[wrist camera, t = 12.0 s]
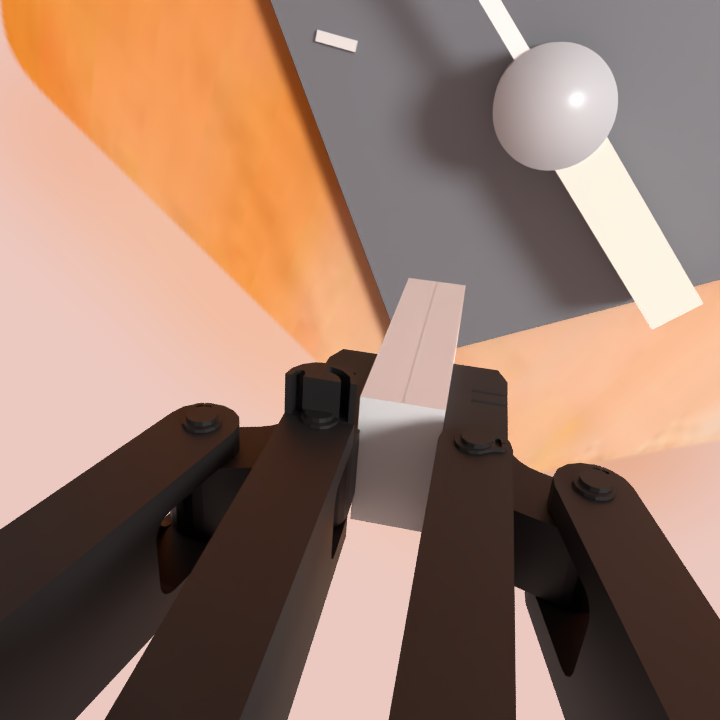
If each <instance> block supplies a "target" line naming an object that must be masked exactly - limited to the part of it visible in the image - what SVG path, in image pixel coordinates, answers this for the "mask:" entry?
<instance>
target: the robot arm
mask: <svg viewBox="0 0 720 720" xmlns="http://www.w3.org/2000/svg"><path fill="white" fill-rule="evenodd" d="M465 287H466V285H459V284H451V283H444V282H436V281H428V280H421V279H413V278H409V279H408V281H407V283H406V286H405V288H404V291H403V293H402V296H401V298H400V301H399V303H398V306H397V308H396V310H395V313H394V315H393V318H392V320H391V323H390V325H389V328H388V330H387V332H386V335H385V337H384V340H383V342H382V345H381V347H380V350H379V352H378V354H373V353H366V352H359V351H353V350H346V349H343V350H341V351H339V352H338V353H336V354H334V355H332V356H331V357H329V359H328V361H327V362H326V363H317V362H315V363H308V364H302V365H299V366H296V367H293V368H292V369H290V371H288V372H287V373H286V374H285V413H284V415H283V417H282V418H281V420H280V422H279V424H276V425H272V426H263V427H239V417H238V415H237V414H236V413H235V412H234V411H233V410H231V409H229V408H227V407H225V406H222V405H217V404H212V403H206V404H204V403H197V404H194V405H189V406H185V407H182V408H180V409H178V410H176V411H174V412H172V413H170V414H169V415H167V416H166V417H164V418H163V419H162V420H160V421H159V422H157V423H156V424H154V425H153V426H151V427H150V428H148V429H147V430H145V431H144V432H143V433H141V434H140V435H138V436H137V437H135V438H134V439H132V440H131V441H129V442H128V443H126V444H125V445H123V446H122V447H121V448H119V449H118V450H116V451H115V452H113V453H112V454H110V455H109V456H107V457H106V458H104V459H103V460H101V461H100V462H99V463H97V464H96V465H94V466H93V467H91V468H90V469H88V470H87V471H85V472H84V473H82V474H81V475H79V476H78V477H77V478H75V479H74V480H72V481H71V482H69V483H68V484H66V485H65V486H63V487H62V488H60V489H59V490H57V491H56V492H55V493H53V494H52V495H50V496H49V497H47V498H46V499H44V500H43V501H41V502H40V503H39V504H37V505H36V506H34V507H33V508H31V509H30V510H28V511H27V512H26V513H24V514H22V515H21V516H20V517H18V518H16V519H15V520H14V521H12V522H11V523H9V524H8V525H6V526H5V527H3V528H2V529H0V720H75V719H76V718H77V717H78V716H79V715H80V714H81V713H82V712H83V711H84V709H85V708H86V707H87V706H88V705H89V704H90V703H91V702H92V701H93V700H94V699H95V697H97V696H98V694H99V693H100V692H101V691H102V690H103V689H104V688H105V687H106V686H107V685H108V684H109V682H110V681H111V680H112V679H113V678H114V677H115V676H116V675H117V674H118V673H119V672H120V671H121V670H122V669H123V668H124V667H125V666H126V665H127V663H128V662H129V661H130V660H131V659H132V658H133V657H134V656H135V655H136V654H137V653H138V652H139V651H140V649H141V648H142V647H143V646H144V645H145V644H146V643H147V642H148V641H149V640H150V639H151V638H152V637H153V636H154V637H153V638H152V640H151V642H150V643H149V645H148V647H147V648H146V650H145V652H144V654H143V655H142V657H141V659H140V660H139V662H138V664H137V665H136V667H135V669H134V671H133V672H132V674H131V676H130V677H129V679H128V681H127V682H126V684H125V686H124V688H123V689H122V691H121V693H120V694H119V696H118V698H117V700H116V701H115V703H114V705H113V706H112V708H111V710H110V711H109V713H108V715H107V716H106V718H105V720H287V719H288V716H289V713H290V709H291V707H292V704H293V700H294V697H295V694H296V691H297V688H298V685H299V682H300V678H301V675H302V672H303V669H304V666H305V663H306V660H307V656H308V653H309V650H310V647H311V644H312V641H313V637H314V634H315V631H316V628H317V625H318V622H319V619H320V615H321V612H322V609H323V606H324V603H325V600H326V597H327V594H328V590H329V587H330V584H331V581H332V578H333V575H334V572H335V568H336V565H337V562H338V559H339V556H340V553H341V550H342V546H343V543H344V540H345V537H346V526H347V515H348V512H349V508H350V506H351V503H352V507H351V519H355V520H361V521H366V522H371V523H377V524H382V525H387V526H393V527H398V528H404V529H409V530H414V531H420V532H422V533H421V539H420V544H419V550H418V556H417V561H416V567H415V573H414V579H413V585H412V590H411V596H410V602H409V607H408V613H407V618H406V624H405V630H404V636H403V641H402V647H401V652H400V659H399V664H398V670H397V676H396V681H395V687H394V692H393V698H392V704H391V710H390V716H389V720H516V689H515V688H516V686H515V685H516V684H515V607H514V606H515V604H514V603H515V601H514V600H515V598H514V597H515V596H514V586H515V587H518V588H520V589H522V590H524V591H525V601H526V606H527V609H528V611H529V614H530V618H531V620H532V623H533V626H534V630H535V632H536V635H537V638H538V641H539V644H540V647H541V650H542V653H543V656H544V659H545V662H546V665H547V668H548V670H549V674H550V677H551V680H552V682H553V686H554V688H555V691H556V694H557V697H558V700H559V703H560V706H561V709H562V712H563V715H564V718H565V720H720V619H719V617H718V616H717V614H716V613H715V611H714V610H713V608H712V607H711V605H710V604H709V602H708V601H707V599H706V598H705V596H704V595H703V593H702V592H701V590H700V588H699V587H698V586H697V584H696V582H695V581H694V579H693V578H692V576H691V575H690V573H689V572H688V570H687V569H686V567H685V566H684V565H683V563H682V561H681V560H680V558H679V557H678V555H677V554H676V552H675V550H674V549H673V547H672V546H671V544H670V543H669V541H668V540H667V538H666V537H665V535H664V534H663V532H662V531H661V529H660V528H659V526H658V525H657V523H656V522H655V520H654V518H653V517H652V515H651V514H650V512H649V511H648V509H647V508H646V507H645V505H644V503H643V502H642V500H641V499H640V497H639V496H638V494H637V493H636V491H635V490H634V488H633V487H632V486H631V485H630V484H629V483H628V482H627V481H626V480H625V479H624V478H623V477H621V476H619V475H618V474H616V473H614V472H613V471H611V470H608V469H606V468H604V467H603V468H602V467H601V466H597V465H591V464H584V463H576V464H567V465H565V466H563V467H561V468H559V469H557V471H556V473H555V474H554V476H553V477H551V476H548V475H546V474H543V473H540V472H538V471H536V470H533V469H531V468H529V467H527V466H526V465H524V464H523V463H521V462H520V461H519V460H518V459H517V458H515V457H514V456H513V449H512V447H511V444H510V442H509V441H508V416H507V381H506V380H505V379H504V378H503V376H502V375H501V374H500V373H499V371H498V370H491V369H484V368H478V367H471V366H464V365H458V364H454V361H455V354H456V348H457V341H458V334H459V328H460V321H461V314H462V307H463V301H464V294H465ZM169 512H170V514H168V513H169ZM167 514H168V515H167ZM166 515H167V516H166Z"/></svg>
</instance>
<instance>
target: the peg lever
mask: <svg viewBox="0 0 720 720" xmlns="http://www.w3.org/2000/svg"><path fill="white" fill-rule="evenodd" d="M479 2H480V3H481V5H482V7H483V8H484V10H485V12H486V13H487V15H488V17H489V18H490V20H491V22H492V24H493V25H494V27H495V29H496V30H497V32H498V34H499V35H500V37H501V39H502V40H503V42H504V44H505V45H506V47H507V49H508V50H509V52H510V54H511V55H512V57H513V59H514V60H513V61H512V62H511V63H510V64H509V65H508V67H507V68H506V69H505V71H504V73H503V74H502V76H501V78H500V80H499V83H498V85H497V88H496V92H495V97H494V102H493V124H494V128H495V132H496V135H497V137H498V140H499V141H500V143H501V145H502V146H503V148H504V149H505V151H506V152H507V153H508V154H509V155H510V156H511V157H512V158H514V159H515V160H516V161H518V162H519V163H521V164H523V165H525V166H527V167H530V168H533V169H537V170H545V171H549V170H555V171H556V173H557V174H558V176H559V178H560V179H561V181H562V182H563V184H564V186H565V187H566V189H567V191H568V192H569V194H570V196H571V197H572V199H573V201H574V202H575V204H576V206H577V207H578V209H579V210H580V212H581V214H582V215H583V217H584V219H585V220H586V222H587V224H588V225H589V227H590V229H591V230H592V232H593V234H594V235H595V237H596V238H597V240H598V242H599V243H600V245H601V247H602V248H603V250H604V252H605V253H606V255H607V257H608V258H609V260H610V262H611V263H612V265H613V266H614V268H615V270H616V271H617V273H618V275H619V276H620V278H621V280H622V281H623V283H624V285H625V286H626V288H627V290H628V291H629V293H630V294H631V296H632V298H633V299H634V301H635V303H636V304H637V306H638V308H639V309H640V311H641V313H642V314H643V316H644V318H645V319H646V321H647V322H648V324H649V326H650V327H651V329H652V330H653V329H654V328H656V327H658V326H660V325H662V324H664V323H666V322H668V321H670V320H672V319H674V318H676V317H678V316H680V315H682V314H684V313H686V312H688V311H690V310H692V309H694V308H696V307H698V306H700V305H702V304H703V302H702V301H701V299H700V297H699V295H698V294H697V292H696V290H695V288H694V287H693V285H692V283H691V281H690V280H689V278H688V276H687V275H686V273H685V271H684V269H683V268H682V266H681V264H680V262H679V261H678V259H677V257H676V255H675V254H674V252H673V250H672V248H671V247H670V245H669V243H668V242H667V240H666V238H665V236H664V235H663V233H662V231H661V229H660V228H659V226H658V224H657V222H656V221H655V219H654V217H653V216H652V214H651V212H650V210H649V209H648V207H647V205H646V203H645V202H644V200H643V198H642V196H641V195H640V193H639V191H638V190H637V188H636V186H635V184H634V183H633V181H632V179H631V177H630V176H629V174H628V172H627V170H626V169H625V167H624V165H623V163H622V162H621V160H620V158H619V157H618V155H617V153H616V151H615V150H614V148H613V146H612V144H611V143H610V141H609V139H608V137H607V136H608V134H609V132H610V131H611V129H612V126H613V124H614V121H615V118H616V114H617V108H618V91H617V85H616V82H615V78H614V76H613V74H612V72H611V70H610V68H609V67H608V65H607V64H606V62H605V61H604V60H603V59H602V58H601V57H600V56H599V55H598V54H597V53H595V52H594V51H592V50H591V49H589V48H587V47H585V46H582V45H580V44H576V43H571V42H549V43H543V44H539V45H536V46H534V47H532V48H529V47H528V45H527V44H526V42H525V40H524V39H523V37H522V35H521V34H520V32H519V30H518V28H517V27H516V25H515V23H514V22H513V20H512V18H511V16H510V15H509V13H508V11H507V10H506V8H505V6H504V5H503V3H502V1H501V0H479Z"/></svg>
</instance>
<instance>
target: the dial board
mask: <svg viewBox="0 0 720 720" xmlns="http://www.w3.org/2000/svg"><path fill="white" fill-rule="evenodd" d="M501 1H502V3H503V5H504V6H505V8H506V10H507V11H508V13H509V15H510V16H511V18H512V20H513V22H514V23H515V25H516V27H517V28H518V30H519V32H520V34H521V35H522V37H523V39H524V40H525V42H526V44H527V45H528V47H529V48H532V47H534V46H536V45H539V44H543V43H549V42H571V43H576V44H580V45H582V46H585V47H587V48H589V49H591V50H592V51H594V52H595V53H597V54H598V55H599V56H600V57H601V58H602V59H603V60H604V61H605V62H606V64H607V65H608V67H609V68H610V70H611V72H612V74H613V76H614V78H615V82H616V85H617V91H618V108H617V114H616V118H615V121H614V124H613V126H612V129H611V131H610V132H609V134H608V136H607V137H608V139H609V141H610V143H611V144H612V146H613V148H614V150H615V151H616V153H617V155H618V157H619V158H620V160H621V162H622V163H623V165H624V167H625V169H626V170H627V172H628V174H629V176H630V177H631V179H632V181H633V183H634V184H635V186H636V188H637V190H638V191H639V193H640V195H641V196H642V198H643V200H644V202H645V203H646V205H647V207H648V209H649V210H650V212H651V214H652V216H653V217H654V219H655V221H656V222H657V224H658V226H659V228H660V229H661V231H662V233H663V235H664V236H665V238H666V240H667V242H668V243H669V245H670V247H671V248H672V250H673V252H674V254H675V255H676V257H677V259H678V261H679V262H680V264H681V266H682V268H683V269H684V271H685V273H686V275H687V276H688V278H689V280H690V281H691V283H692V285H693V286H697V285H701V284H705V283H709V282H712V281H716V280H720V0H501ZM271 3H272V6H273V8H274V11H275V14H276V16H277V19H278V22H279V24H280V27H281V30H282V32H283V35H284V38H285V40H286V43H287V46H288V48H289V51H290V54H291V56H292V59H293V62H294V64H295V67H296V70H297V72H298V75H299V78H300V80H301V83H302V86H303V88H304V91H305V94H306V96H307V99H308V102H309V105H310V107H311V110H312V113H313V115H314V118H315V121H316V123H317V126H318V129H319V131H320V134H321V137H322V139H323V142H324V145H325V147H326V150H327V153H328V155H329V158H330V161H331V163H332V166H333V169H334V171H335V174H336V177H337V179H338V182H339V185H340V187H341V190H342V193H343V195H344V198H345V201H346V203H347V206H348V209H349V211H350V214H351V217H352V219H353V222H354V225H355V227H356V230H357V233H358V235H359V238H360V241H361V243H362V246H363V249H364V251H365V254H366V257H367V259H368V262H369V265H370V267H371V270H372V273H373V275H374V278H375V281H376V283H377V286H378V289H379V291H380V294H381V297H382V299H383V302H384V305H385V308H386V310H387V313H388V316H389V318H390V321H391V320H392V318H393V315H394V313H395V310H396V308H397V306H398V303H399V301H400V298H401V296H402V293H403V291H404V288H405V286H406V283H407V281H408V279H409V278H413V279H421V280H428V281H436V282H444V283H451V284H459V285H466V287H465V294H464V301H463V307H462V314H461V321H460V328H459V334H458V341H457V348H458V347H462V346H466V345H470V344H473V343H477V342H481V341H485V340H489V339H493V338H497V337H500V336H504V335H508V334H512V333H516V332H520V331H524V330H527V329H531V328H535V327H539V326H543V325H547V324H551V323H554V322H558V321H562V320H566V319H570V318H574V317H577V316H581V315H585V314H589V313H593V312H597V311H601V310H604V309H608V308H612V307H616V306H620V305H624V304H628V303H631V302H635V301H634V299H633V298H632V296H631V294H630V293H629V291H628V290H627V288H626V286H625V285H624V283H623V281H622V280H621V278H620V276H619V275H618V273H617V271H616V270H615V268H614V266H613V265H612V263H611V262H610V260H609V258H608V257H607V255H606V253H605V252H604V250H603V248H602V247H601V245H600V243H599V242H598V240H597V238H596V237H595V235H594V234H593V232H592V230H591V229H590V227H589V225H588V224H587V222H586V220H585V219H584V217H583V215H582V214H581V212H580V210H579V209H578V207H577V206H576V204H575V202H574V201H573V199H572V197H571V196H570V194H569V192H568V191H567V189H566V187H565V186H564V184H563V182H562V181H561V179H560V178H559V176H558V174H557V173H556V171H555V170H549V171H545V170H537V169H533V168H530V167H527V166H525V165H523V164H521V163H519V162H518V161H516V160H515V159H514V158H512V157H511V156H510V155H509V154H508V153H507V152H506V151H505V149H504V148H503V146H502V145H501V143H500V141H499V140H498V137H497V135H496V132H495V128H494V124H493V102H494V97H495V92H496V88H497V85H498V83H499V80H500V78H501V76H502V74H503V73H504V71H505V69H506V68H507V67H508V65H509V64H510V63H511V62H512V61H513V60H514V59H513V57H512V55H511V54H510V52H509V50H508V49H507V47H506V45H505V44H504V42H503V40H502V39H501V37H500V35H499V34H498V32H497V30H496V29H495V27H494V25H493V24H492V22H491V20H490V18H489V17H488V15H487V13H486V12H485V10H484V8H483V7H482V5H481V3H480V2H479V0H271Z"/></svg>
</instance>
